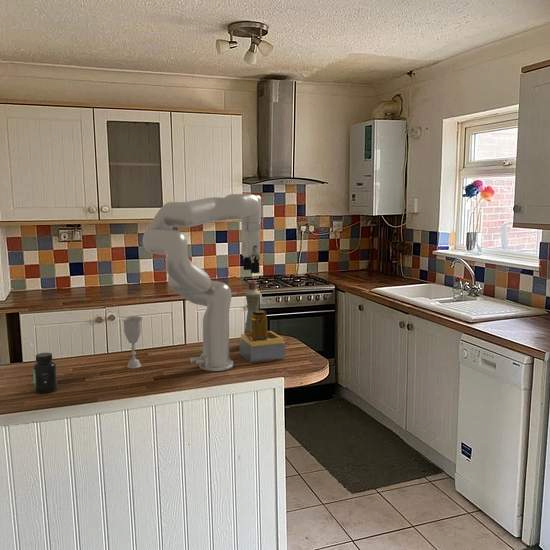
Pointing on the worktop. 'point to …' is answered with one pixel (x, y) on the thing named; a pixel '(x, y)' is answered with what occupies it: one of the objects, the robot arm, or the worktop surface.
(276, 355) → the gold-rimmed square tray
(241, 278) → the worktop surface
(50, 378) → the supplement bottle
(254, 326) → the condiment
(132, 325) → the chalice
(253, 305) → the bottle
